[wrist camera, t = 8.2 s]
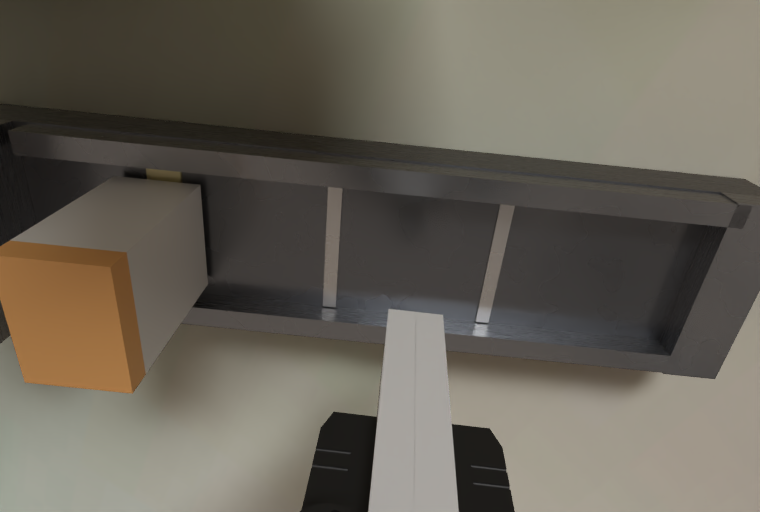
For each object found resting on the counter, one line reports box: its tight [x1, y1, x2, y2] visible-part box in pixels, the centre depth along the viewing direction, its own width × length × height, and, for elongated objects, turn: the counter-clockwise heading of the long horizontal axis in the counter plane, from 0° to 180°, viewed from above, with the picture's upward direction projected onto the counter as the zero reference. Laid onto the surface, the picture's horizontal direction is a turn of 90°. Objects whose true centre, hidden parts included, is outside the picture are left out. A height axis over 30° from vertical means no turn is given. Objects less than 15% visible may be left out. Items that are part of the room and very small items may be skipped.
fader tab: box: [0, 176, 208, 393], centre depth 16 cm, size 4×3×6 cm
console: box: [0, 104, 760, 379], centre depth 18 cm, size 7×28×6 cm, turn 85°
